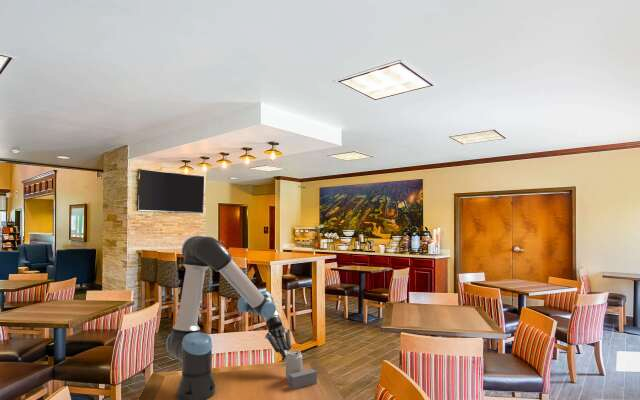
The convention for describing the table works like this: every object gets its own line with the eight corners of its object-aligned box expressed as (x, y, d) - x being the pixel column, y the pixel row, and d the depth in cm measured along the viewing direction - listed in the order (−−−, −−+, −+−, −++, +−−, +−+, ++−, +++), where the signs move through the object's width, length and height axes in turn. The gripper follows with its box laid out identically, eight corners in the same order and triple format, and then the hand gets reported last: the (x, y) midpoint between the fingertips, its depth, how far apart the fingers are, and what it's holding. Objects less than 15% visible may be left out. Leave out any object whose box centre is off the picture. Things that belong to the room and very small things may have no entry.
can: (301, 382, 175) (301, 354, 175) (284, 382, 175) (284, 354, 176) (303, 376, 182) (303, 349, 183) (286, 375, 183) (286, 349, 183)
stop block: (293, 389, 168) (293, 377, 168) (288, 386, 171) (288, 374, 171) (316, 383, 174) (316, 371, 175) (311, 380, 178) (311, 368, 178)
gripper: (281, 322, 204) (298, 365, 189) (258, 326, 196) (274, 371, 182) (286, 314, 199) (304, 357, 185) (263, 317, 192) (279, 363, 178)
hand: (289, 364), depth 183 cm, fingers closed
